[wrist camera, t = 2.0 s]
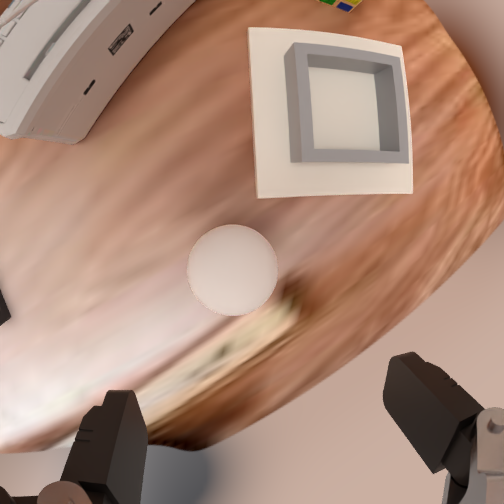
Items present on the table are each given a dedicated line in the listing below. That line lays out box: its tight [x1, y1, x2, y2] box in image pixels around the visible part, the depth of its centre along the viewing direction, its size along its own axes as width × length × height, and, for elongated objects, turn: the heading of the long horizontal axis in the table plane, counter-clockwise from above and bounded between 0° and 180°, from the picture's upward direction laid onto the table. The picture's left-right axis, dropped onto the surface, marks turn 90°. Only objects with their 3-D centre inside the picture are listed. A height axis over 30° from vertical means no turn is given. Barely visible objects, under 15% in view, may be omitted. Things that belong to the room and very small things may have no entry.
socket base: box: [247, 27, 413, 199], centre depth 25 cm, size 16×16×5 cm
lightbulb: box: [187, 224, 278, 316], centre depth 24 cm, size 6×6×11 cm
